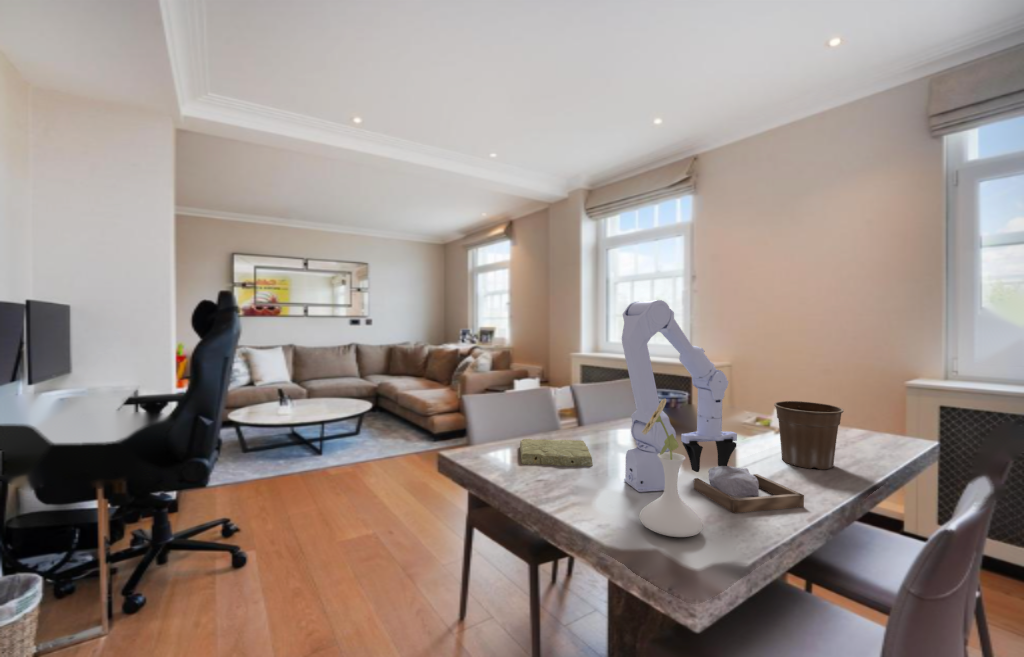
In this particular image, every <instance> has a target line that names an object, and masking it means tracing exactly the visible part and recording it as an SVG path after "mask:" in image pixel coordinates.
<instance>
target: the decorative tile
mask: <svg viewBox="0 0 1024 657" xmlns="http://www.w3.org/2000/svg"><path fill="white" fill-rule="evenodd" d="M519 442H520V443H519V452H520V462H521V464H522V465H547V466H548V465H552V466H557V467H561V466H564V467H593V457H592V454H591V452H590V450H589V448H588V446H587V444H586V442H585V440H579V439H578V440H577V439H576V440H575V439H574V440H573V439H545V438H544V439H542V438H541V439H532V438H523V439H522V440H520V441H519Z"/></svg>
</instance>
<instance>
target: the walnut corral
mask: <svg viewBox="0 0 1024 657" xmlns="http://www.w3.org/2000/svg"><path fill="white" fill-rule="evenodd" d="M752 475H754V476H755V477H756V478H757V480H758V484H759V489H761V490H764V491H766V492H767V493H770V494H771V495H764V496H756V497H755V496H748V497H738V498H734V497H732V495H727V494H726V493H724V492H722V491H720V490H718V489H717V488H715V487H713V486H712V485H711V484H709V483H707V482H706V481H704V480H702V479H701V478H698V477H696V478H693V490H694V491H697V492H698V493H700V494H701V495H703V496H705V497H706V498H709V499H710V500H711V501H714V502H715V503H716V504H719V505H720V506H721V507H722V508H725V509H726V510H728V511H730V512H731V513H733V514H738V513H750V512H759V511H760V512H761V511H772V510H783V509H795V508H804V507H805V494H802V493H800V492H798V491H796V490H793V489H792V488H789V487H786V486H784V485H782V484H780V483H777V482H776V481H773V480H771V479H769V478H766V477H764V476H762V475H760V474H758V473H753V474H752Z"/></svg>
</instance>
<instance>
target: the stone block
mask: <svg viewBox="0 0 1024 657" xmlns="http://www.w3.org/2000/svg"><path fill="white" fill-rule="evenodd" d="M708 480H709V482H710V485H711V486H713V487H715V488H717V489H718V490H720V491H722V492H724V493H726V494H727V495H729V496H743V497H759V493H760V492H759V489H760V488H759V484H758V480H757V478H756V477H755V476H754V475H753V474H751V473H750V471H749V469H748V468H746V467H745V468H742V467H741V468H740V467H736V466H728V465H727V466H718V465H717V466H713V467H710V468H708Z"/></svg>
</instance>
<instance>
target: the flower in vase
mask: <svg viewBox="0 0 1024 657" xmlns="http://www.w3.org/2000/svg"><path fill="white" fill-rule="evenodd" d="M666 404H667V399H666V398H662V399H661V401H659V406H658V408H657V410H656V411H655V412H654V413H653V415H652V417H651V419H650V421H649V422H648V423H647V424H646V426H645V428H644V430H643V431H642V433H643V432H644V433H643V434H647V433H648V432H649V430H650V429H651V428H652V426H653V425H654V423H655V422H661V424H662V426H663V428H664V430H665V432H666V435H667V438H666V440H665V441H664V443H665V445H664V447H663V448H662V450H661V453H659V454H658V457H659V459H660V460H661V462H662V465H663V468H664V475H665V489H664V490H663V493H662V494H661V496H659V497H658V498H657V499H654V500H653V501H651V502H649V503H648V504H647V505H645V506H644V507H643V508H642V509H641V510H640V513H639V515H638V517H639V520H640V522H641V524H642V525H643V526H644V527H646V528H647V529H649V530H650V531H651V532H655V533H657V534H660V535H663V536H667V537H672V538H673V537H674V538H686V537H687V538H688V537H692V536H696V535H698V534H700V533H701V532H702V530H703V529H704V522H703V520H702V518H701V516H700V515H699V514H698V513H697V512H696V510H694V509H693V508H692V507H691V506H690V505H689V504H687V502H685V501H684V500H682V498H681V497H680V494H679V491H678V478H679V472H680V468H681V466H682V465H683V463H684V461H685V460H686V456H685V455H683V454H681V453H676V452H673V451H675V450H677V449H678V448H679V444H678V442H677V438H676V439H675V437H674V435H673V434H671V435H670V436H669V435H668V432H667V430H666V428H665V426H664V424H663V422H662V420H661V417H660V414H661V412H662V410H663V411H664V409H665V406H666ZM667 448H668V449H669V450H670V451H668V452H665V451H666V449H667Z"/></svg>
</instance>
